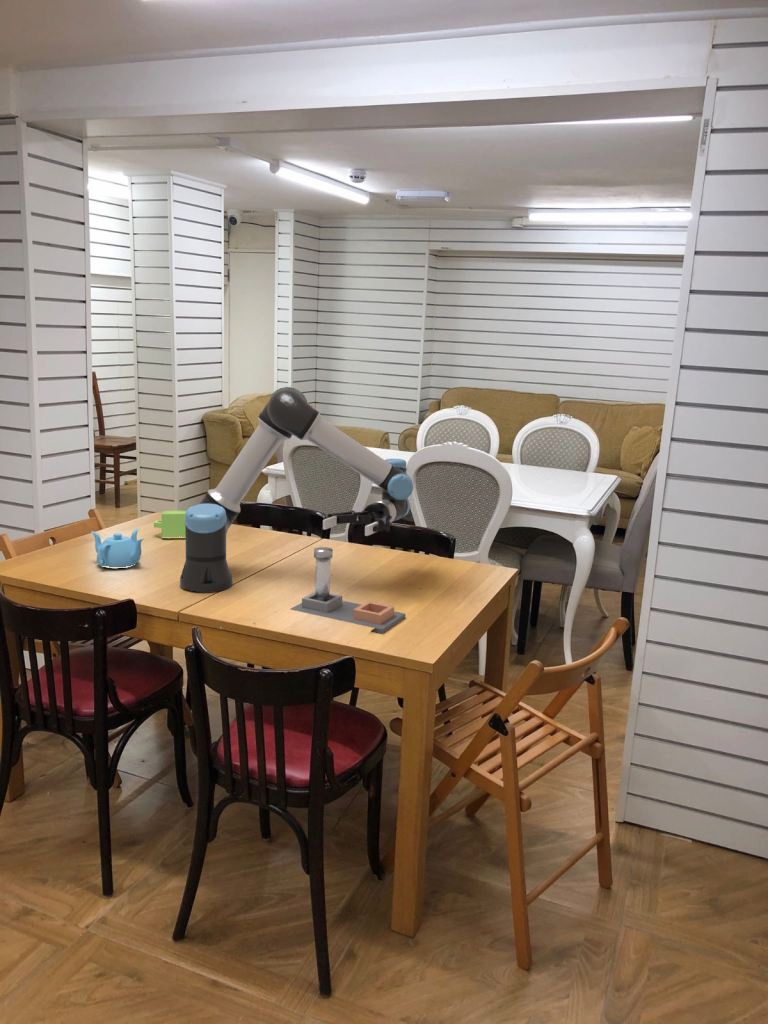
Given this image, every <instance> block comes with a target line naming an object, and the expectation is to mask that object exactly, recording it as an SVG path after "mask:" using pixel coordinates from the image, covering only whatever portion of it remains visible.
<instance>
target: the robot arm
mask: <svg viewBox="0 0 768 1024" xmlns="http://www.w3.org/2000/svg"><path fill="white" fill-rule="evenodd" d="M257 420H258V425H257V426H256V428H255V430H254V431H253V432H252V434H251V435H250V437H249V438H248V440H247V442H246V443H245V444H244V446H243V447H242V449H241V450H240V452H239V453H238V455H237V456H236V458H235V460H234V461H233V462H232V464H231V465H230V466H229V468H228V470H227V471H226V473H225V474H224V475H223V477H222V479H221V480H220V482H219V483H218V484H217V486H216V487H215V488H212V489H208V490H207V492H206V493H205V495H204V496H203V498H202V499H201V501H200V502H199V504H195V505H192V506H190V507H188V508H187V509H186V510H185V511H186V514H185V537H186V539H185V561H184V564H183V568H182V571H181V575H180V577H179V587H180V586H181V587H182V588H184V589H187V590H190V591H189V592H192V591H196V592H195V593H216V592H220V591H221V590H222V591H224V590H227V589H230V587H231V588H232V585H233V576H232V573H231V571H230V567H229V564H228V562H227V561H228V560H227V534H228V532H229V531H228V530H229V529H230V527H231V525H233V523H234V521H235V520H236V519H237V517H238V515H239V514H240V513H241V506H240V504H241V502H242V501H243V499H244V498H245V496H246V495H247V494H248V492H249V491H250V489H251V488H252V486H253V485H254V484H255V482H256V480H257V479H258V477H259V476H260V475H261V473H262V471H264V469H265V467H266V466H267V464H268V463H269V462H270V460H271V458H272V457H273V455H274V454H275V453H276V451H277V449H279V447H280V445H281V444H282V442H283V441H287V440H291V438H292V436H294V437H296V438H297V439H299V440H300V441H306V440H307V441H308V442H310V443H311V444H313V445H314V446H315V447H317V448H318V449H320V450H322V451H324V452H325V453H327V454H328V455H330V456H331V457H333V458H335V459H336V460H338V461H339V462H341V463H343V464H344V465H345V466H347V467H348V468H350V469H351V470H353V471H355V472H356V473H358V474H359V475H361V476H362V477H364V478H365V479H367V480H368V481H370V482H372V483H373V484H374V485H375V486H377V487H379V488H380V489H381V499H380V500H378V501H376V502H375V501H374V502H373V503H370V504H368V505H367V506H365V508H364V509H363V510H362V511H355V510H349V511H343V512H335V513H328V514H327V518H325V519H323V520H322V530H328V529H330V528H332V527H335V526H337V525H343V524H344V525H345V524H354V525H365V526H364V536H365V537H368V536H371V535H373V534H375V533H378V532H383V531H385V532H387V533H389V532H390V530H391V529H390V528H391V527H390V526H391V525H392V523H393V522H396V521H398V520H401V519H402V518H404V517H406V516H407V515H408V513H409V512H410V510H411V503H410V501H409V499H408V498H409V497H410V496H411V495H412V494H413V490H414V483H413V480H412V478H411V477H410V476H409V475H408V473H407V471H408V468H407V461H406V460H405V459H402V458H386V459H384V458H382V457H381V456H380V455H377V454H376V453H375V452H373V451H372V450H370V449H369V448H367V447H366V446H364V445H363V444H361V443H359V442H358V441H357V440H355V439H354V438H352V437H351V436H350V435H348V434H346V433H345V432H343V431H342V430H340V429H339V428H338V427H336V426H334V425H333V424H332V423H329V422H328V421H326V420H325V419H324V418H322V415H321V412H319V410H317V409H315V408H314V407H313V406H311V405H310V404H309V403H308V400H307V398H306V396H305V395H304V394H303V393H302V392H301V391H300V390H299V389H297V388H294V387H291V386H284V387H280V388H278V389H276V390H275V391H274V392H272V394H271V395H270V397H269V400H268V401H267V403H266V404H265V406H264V407H263V409H262V410H261V411H260V413H259V415H258V416H257ZM181 587H180V588H181ZM182 588H181V589H182ZM184 589H183V590H184ZM187 590H186V591H187ZM214 591H215V592H214Z"/></svg>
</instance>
